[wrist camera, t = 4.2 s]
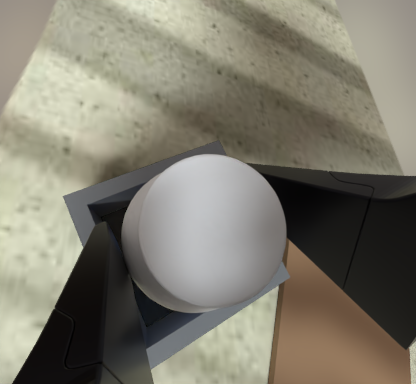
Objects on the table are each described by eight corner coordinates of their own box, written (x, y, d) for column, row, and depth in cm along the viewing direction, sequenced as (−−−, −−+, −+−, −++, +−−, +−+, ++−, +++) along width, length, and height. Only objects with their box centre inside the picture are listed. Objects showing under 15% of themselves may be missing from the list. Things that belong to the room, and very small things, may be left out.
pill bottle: (150, 191, 16) (155, 96, 7) (225, 217, 16) (322, 163, 7) (117, 275, 14) (62, 305, 5) (203, 299, 15) (296, 365, 6)
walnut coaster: (403, 416, 16) (412, 422, 15) (266, 394, 14) (271, 400, 14) (397, 262, 19) (405, 262, 18) (285, 230, 17) (290, 230, 17)
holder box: (261, 273, 16) (290, 277, 13) (138, 349, 13) (135, 379, 10) (205, 162, 17) (218, 140, 14) (82, 210, 14) (62, 196, 11)
